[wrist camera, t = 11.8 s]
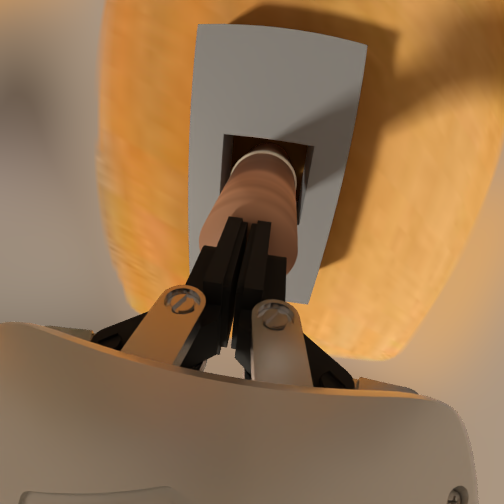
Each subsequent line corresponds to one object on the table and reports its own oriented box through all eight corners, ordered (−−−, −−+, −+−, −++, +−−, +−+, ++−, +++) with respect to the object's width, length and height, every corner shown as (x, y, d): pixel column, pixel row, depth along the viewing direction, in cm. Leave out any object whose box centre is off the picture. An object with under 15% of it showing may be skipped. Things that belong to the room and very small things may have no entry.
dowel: (243, 134, 20) (196, 194, 10) (298, 142, 20) (310, 210, 10) (238, 185, 23) (196, 280, 13) (290, 192, 22) (290, 295, 13)
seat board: (213, 33, 16) (198, 24, 13) (353, 51, 15) (367, 45, 12) (202, 259, 27) (190, 286, 24) (306, 274, 27) (307, 304, 23)
